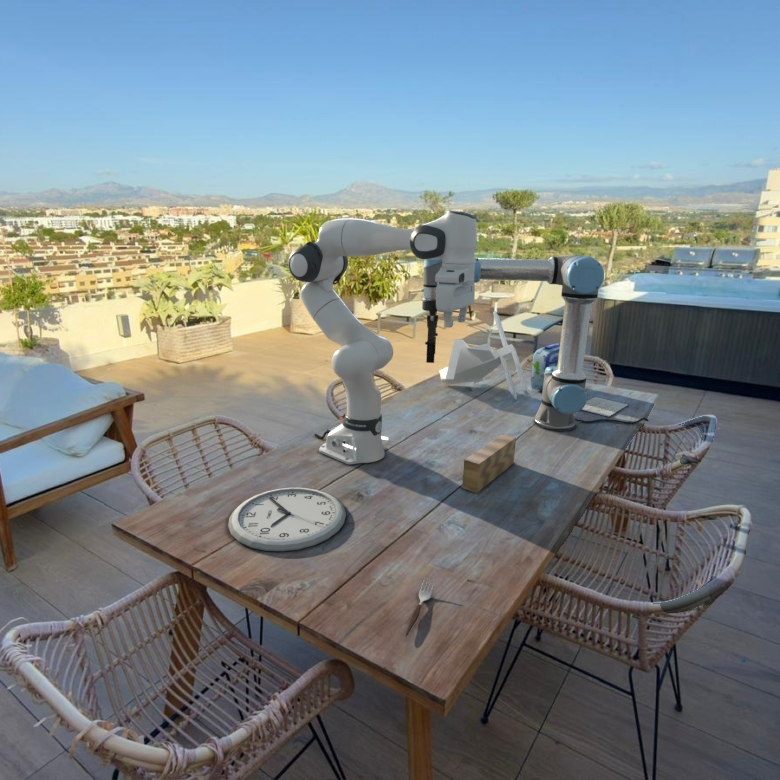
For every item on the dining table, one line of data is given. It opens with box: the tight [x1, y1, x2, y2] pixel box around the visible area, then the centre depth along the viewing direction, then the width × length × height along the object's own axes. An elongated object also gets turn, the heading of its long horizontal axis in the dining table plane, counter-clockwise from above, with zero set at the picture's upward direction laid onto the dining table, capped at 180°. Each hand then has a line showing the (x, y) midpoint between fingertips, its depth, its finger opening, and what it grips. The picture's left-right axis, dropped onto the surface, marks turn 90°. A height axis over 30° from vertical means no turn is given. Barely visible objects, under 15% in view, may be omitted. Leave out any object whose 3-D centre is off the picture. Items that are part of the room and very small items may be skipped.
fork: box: [405, 577, 435, 637], centre depth 104 cm, size 3×16×2 cm, turn 160°
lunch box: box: [530, 343, 560, 391], centre depth 249 cm, size 26×11×21 cm, turn 134°
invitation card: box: [580, 396, 629, 418], centre depth 226 cm, size 21×1×15 cm
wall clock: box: [227, 487, 347, 552], centre depth 136 cm, size 30×2×30 cm
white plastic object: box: [438, 310, 531, 400], centre depth 245 cm, size 37×45×31 cm
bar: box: [461, 433, 517, 494], centre depth 161 cm, size 26×5×9 cm, turn 143°
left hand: (455, 324), depth 146 cm, fingers open, 8 cm apart
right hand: (430, 358), depth 189 cm, fingers open, 13 cm apart
